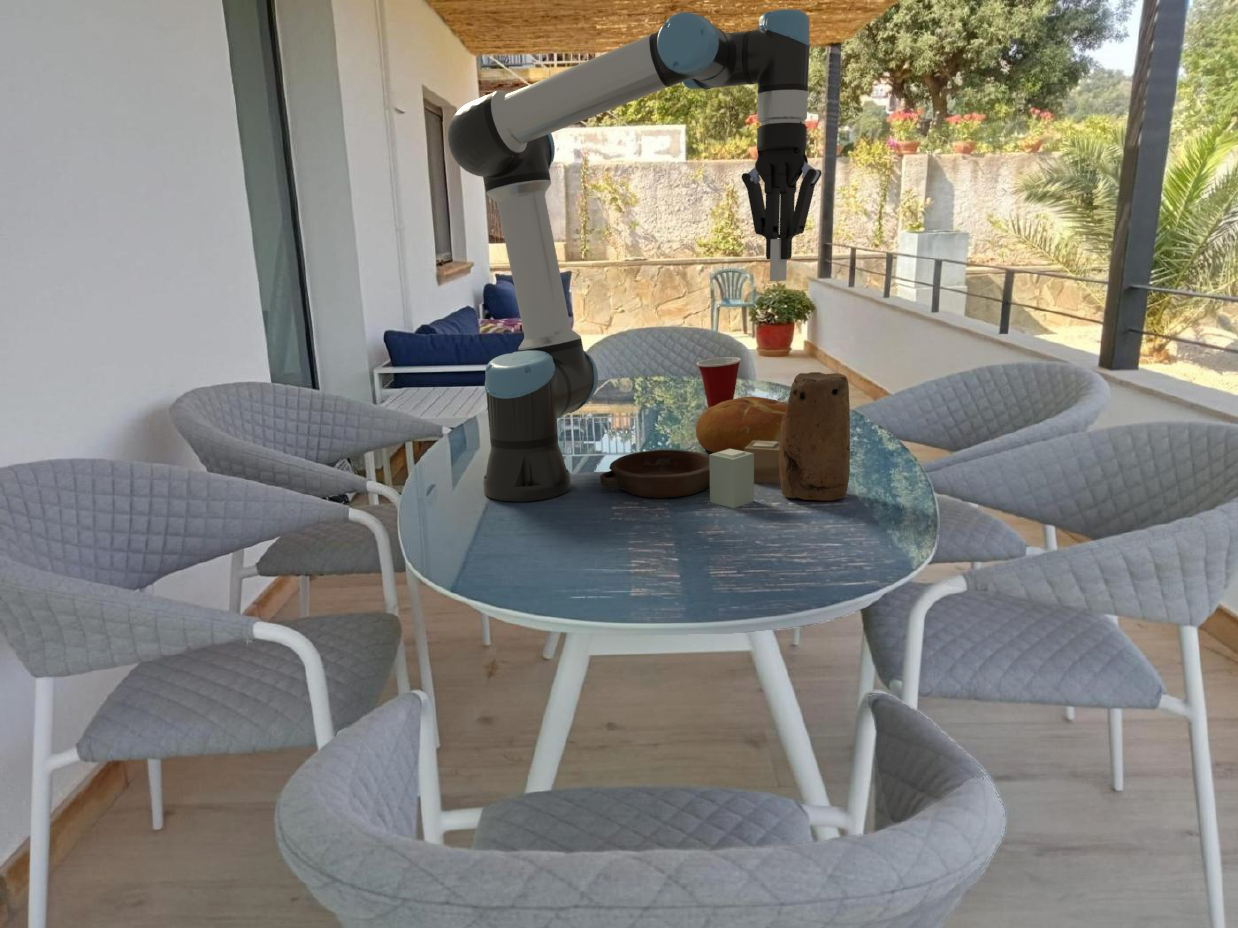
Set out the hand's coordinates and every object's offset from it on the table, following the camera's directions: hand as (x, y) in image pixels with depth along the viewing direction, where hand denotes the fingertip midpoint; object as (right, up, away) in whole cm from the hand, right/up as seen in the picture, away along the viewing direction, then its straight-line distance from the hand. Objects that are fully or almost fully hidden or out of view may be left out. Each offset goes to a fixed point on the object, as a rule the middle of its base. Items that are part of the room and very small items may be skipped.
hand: (778, 280), depth 140 cm
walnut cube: (0, -32, +14) cm, 35 cm away
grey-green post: (-7, -36, +2) cm, 36 cm away
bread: (+2, -27, +35) cm, 44 cm away
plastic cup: (-1, -16, +75) cm, 76 cm away
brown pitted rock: (+6, -35, +3) cm, 36 cm away
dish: (-18, -34, +11) cm, 40 cm away
